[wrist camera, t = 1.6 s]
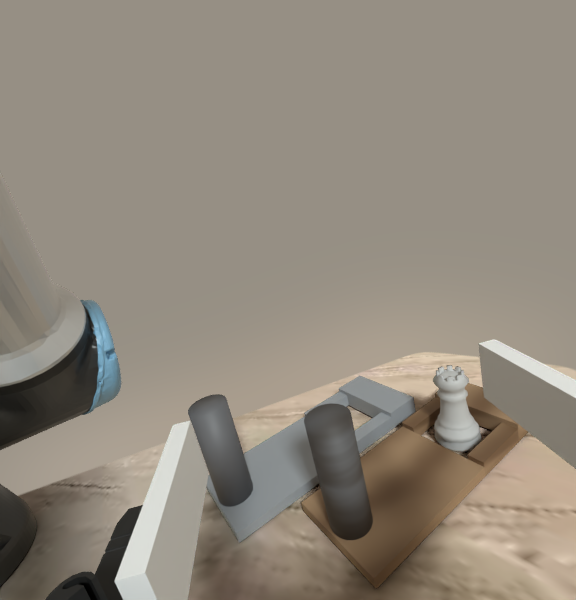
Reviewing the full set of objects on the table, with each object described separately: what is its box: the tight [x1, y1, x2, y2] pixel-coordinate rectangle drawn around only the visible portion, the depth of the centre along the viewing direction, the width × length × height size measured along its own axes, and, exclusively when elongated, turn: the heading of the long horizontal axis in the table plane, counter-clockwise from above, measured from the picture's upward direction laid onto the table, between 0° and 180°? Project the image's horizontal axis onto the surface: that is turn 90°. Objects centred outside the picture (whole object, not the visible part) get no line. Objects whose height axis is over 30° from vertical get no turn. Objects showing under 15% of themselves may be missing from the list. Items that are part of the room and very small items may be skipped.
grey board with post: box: [188, 376, 416, 543], centre depth 39 cm, size 9×24×11 cm, turn 123°
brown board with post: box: [301, 383, 528, 589], centre depth 33 cm, size 9×24×11 cm, turn 123°
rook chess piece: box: [433, 365, 482, 452], centre depth 36 cm, size 4×4×8 cm
